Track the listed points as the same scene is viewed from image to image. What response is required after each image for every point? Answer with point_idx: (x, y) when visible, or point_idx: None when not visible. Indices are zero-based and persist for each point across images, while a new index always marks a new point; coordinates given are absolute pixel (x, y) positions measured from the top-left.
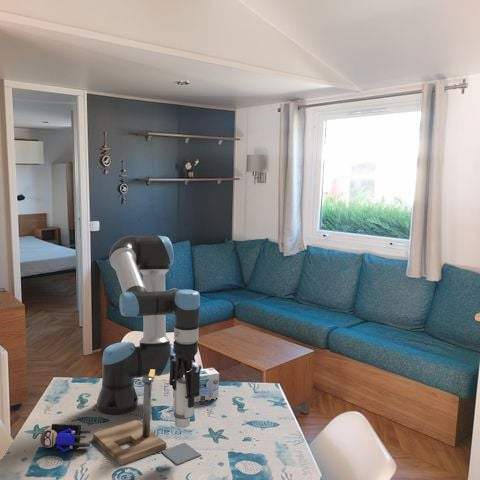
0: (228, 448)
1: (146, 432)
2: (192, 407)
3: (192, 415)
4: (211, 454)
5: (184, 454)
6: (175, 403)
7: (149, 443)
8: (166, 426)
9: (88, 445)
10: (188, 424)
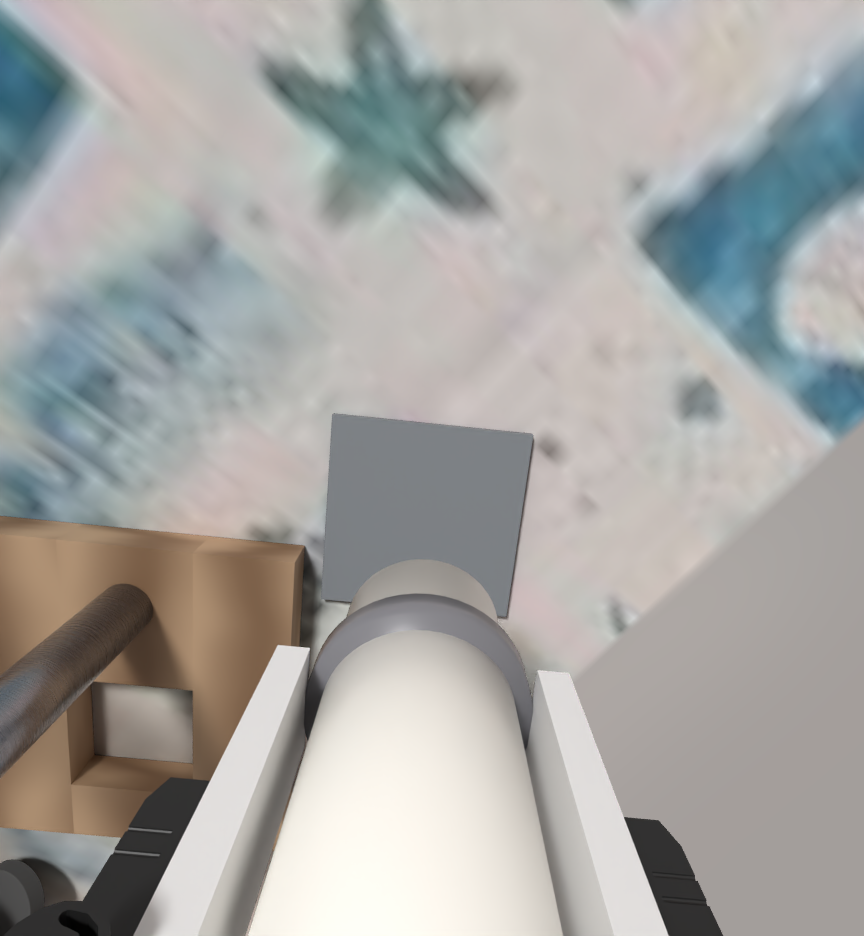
0: (609, 204)
1: (130, 640)
2: (597, 770)
3: (569, 682)
4: (571, 366)
5: (453, 516)
6: (280, 820)
7: (232, 648)
8: (37, 346)
9: (35, 899)
10: (497, 621)
